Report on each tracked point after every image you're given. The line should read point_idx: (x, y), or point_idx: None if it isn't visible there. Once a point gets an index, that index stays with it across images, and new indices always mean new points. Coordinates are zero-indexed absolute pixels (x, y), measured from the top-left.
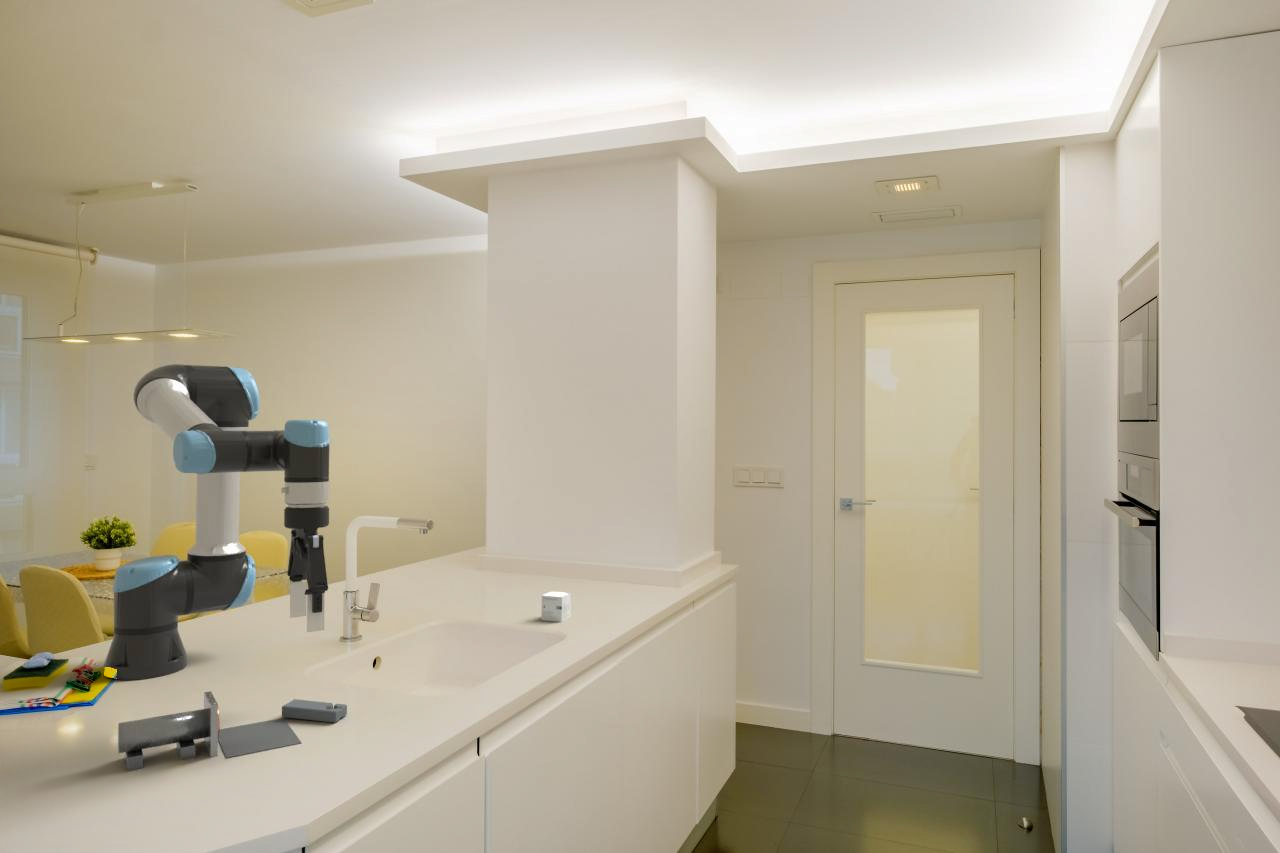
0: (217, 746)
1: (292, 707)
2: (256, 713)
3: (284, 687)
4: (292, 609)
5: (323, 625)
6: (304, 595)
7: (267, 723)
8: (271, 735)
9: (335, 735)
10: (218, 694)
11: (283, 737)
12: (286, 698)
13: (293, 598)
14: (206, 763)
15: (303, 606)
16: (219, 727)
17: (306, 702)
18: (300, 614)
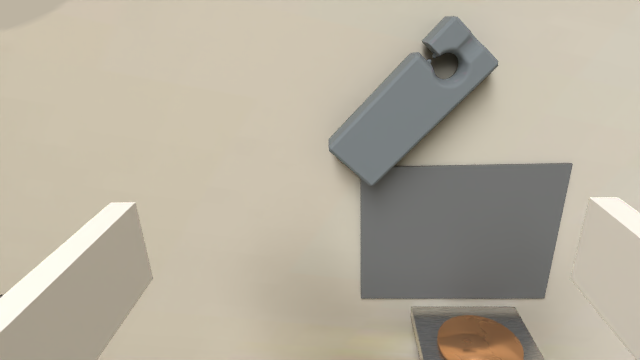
0: (521, 320)
1: (394, 164)
2: (279, 212)
3: (77, 118)
4: (127, 302)
5: (635, 215)
6: (53, 296)
7: (381, 205)
8: (473, 211)
9: (572, 79)
10: None
11: (506, 192)
12: (186, 131)
13: (86, 353)
14: (539, 324)
15: (108, 251)
16: (519, 341)
17: (374, 124)
18: (137, 240)
